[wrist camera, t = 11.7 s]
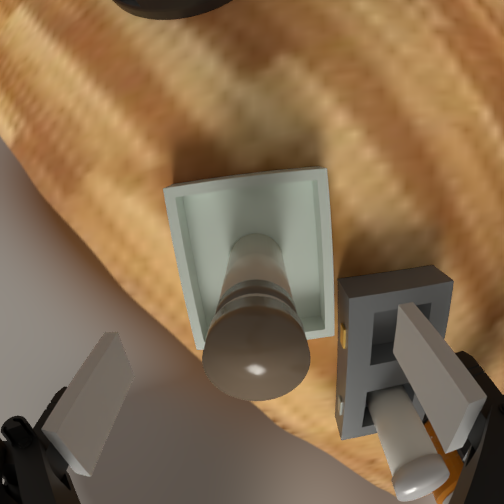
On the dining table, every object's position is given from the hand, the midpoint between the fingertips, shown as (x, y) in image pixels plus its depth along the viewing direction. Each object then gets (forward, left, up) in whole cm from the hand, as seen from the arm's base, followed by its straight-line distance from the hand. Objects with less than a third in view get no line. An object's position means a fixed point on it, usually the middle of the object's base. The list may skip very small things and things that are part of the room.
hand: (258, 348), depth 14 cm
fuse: (+17, +12, -13) cm, 24 cm away
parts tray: (0, 0, -14) cm, 14 cm away
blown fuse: (0, 0, -14) cm, 14 cm away
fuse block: (+12, +12, -14) cm, 22 cm away
